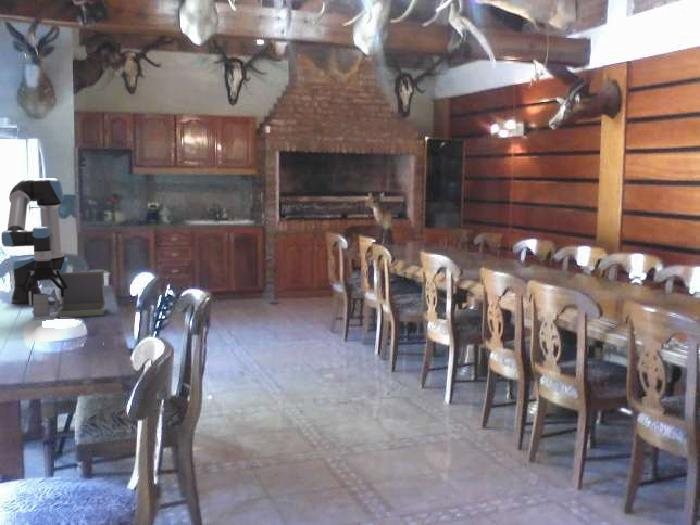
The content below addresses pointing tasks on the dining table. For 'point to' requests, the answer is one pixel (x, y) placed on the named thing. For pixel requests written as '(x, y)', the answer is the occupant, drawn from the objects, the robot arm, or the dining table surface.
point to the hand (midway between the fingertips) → (45, 304)
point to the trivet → (47, 316)
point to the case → (83, 294)
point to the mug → (44, 304)
